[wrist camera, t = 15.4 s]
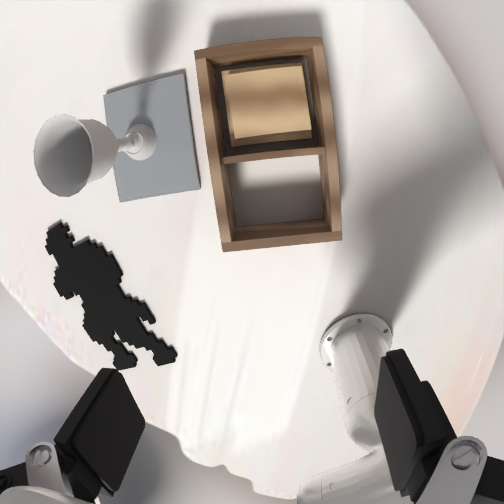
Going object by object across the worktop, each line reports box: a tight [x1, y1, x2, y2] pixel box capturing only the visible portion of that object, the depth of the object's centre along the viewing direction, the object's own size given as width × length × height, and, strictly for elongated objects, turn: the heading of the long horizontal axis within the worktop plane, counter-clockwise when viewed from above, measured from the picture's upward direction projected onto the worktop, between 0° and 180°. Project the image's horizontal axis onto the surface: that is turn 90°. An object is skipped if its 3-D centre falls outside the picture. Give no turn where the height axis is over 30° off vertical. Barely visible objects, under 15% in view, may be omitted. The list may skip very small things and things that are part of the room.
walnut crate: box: [194, 37, 342, 252], centre depth 36 cm, size 24×14×6 cm, turn 7°
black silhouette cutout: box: [45, 223, 177, 370], centre depth 48 cm, size 16×1×30 cm
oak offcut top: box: [225, 66, 311, 139], centre depth 34 cm, size 8×9×2 cm
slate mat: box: [103, 73, 201, 202], centre depth 38 cm, size 16×12×1 cm
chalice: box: [34, 114, 157, 197], centre depth 30 cm, size 7×7×18 cm
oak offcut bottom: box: [221, 63, 312, 147], centre depth 36 cm, size 10×10×2 cm
